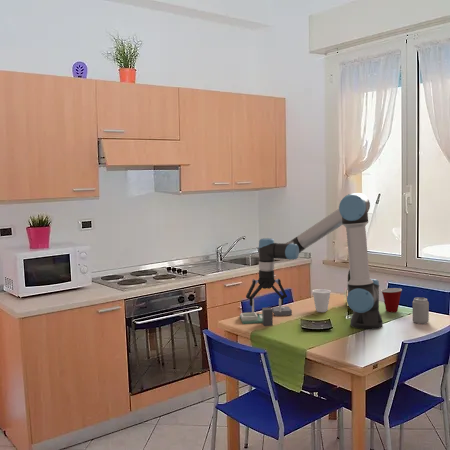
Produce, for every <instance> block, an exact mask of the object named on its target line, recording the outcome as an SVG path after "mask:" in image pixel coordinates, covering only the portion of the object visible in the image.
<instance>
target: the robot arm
mask: <svg viewBox="0 0 450 450" xmlns="http://www.w3.org/2000/svg"><path fill="white" fill-rule="evenodd" d="M370 208H371V203H370V200H369V198H368V197H367V196H366V195H365V194H363V193H361V192H354V193H348V194H347V195H345V196H344V197H342V199H341V200H340V202H339V205H338V208H337V209H336V210H334V211H333V212H331V213H330V214H328V215H327V216H325V217H324V218H323V219H321V220H319V221H318V222H316V223H314V225H312V226H310V227H309V228H308V229H306V230H305V231H303V232H301V233H300V234H298V235H297V236H296V237H294V238H293V239H291V240H290V241H288V242H285V243H284V242H283V243H279V242H278V243H277V242H275V239H274V238H272V237H271V238H269V237H267V238H265V237H264V238H259V241H258V269H259V270H258V279H254V278H253V279H252V282H251V285H250V287H249V290H248V291H247V293H246V295H245V297H246V299H248V300H249V306H250V307H251V313H254V312H255V299H254V298H255V297H256V296H257V294H258V293H259V292H260V290H262V289H264V290H266V289H269V290H270V289H271V288H272V289H273V291H274V292H275V293H276V294H277V295H278V297H279V298H278V307H279V312H281V307H282V306H284V299H285V298H287V297H288V295H287V293H286V291H285V289H284V288H283V286H282V282H281V279H280V278H278V279H277V278H276V279H275V259H280V260H281V259H282V260H289V261H290V260H297V259H298V258H299V255H300V253H302V252H303V251H304V250H306V249H307V248H309V247H312V246H313V244H316V243H317V242H318V241H320V240H321V239H323V238H325V237H326V236H328V235H329V234H331V233H332V232H334V231H335V230H336V229H338V228H340V227H342V226H344V227H345V229H346V231H345V232H346V239H347V240H346V241H347V242H346V243H347V252H348V253H347V254H348V265H349V269H350V280H349V282H348V296H346V303H347V305H348V307H349V308H350V309H351V310H352V311H353V312H352V314H351V318H350V326H351V327H352V328H355V329H359V330H378V329H381V328H383V327H384V326H383V325H384V323H383V322H384V321H383V319H382V315H381V311H380V281H379V280H378V279H375V278H371V277H370V266H369V254H368V253H369V252H368V243H367V230H366V225H368V223H369V215H368V213H369V211H370ZM257 283H258V284H259V285H258V286H257V288H255V286H256V285H257ZM275 284H277V286H278V287H279V290H280V291H281V292H280V291H279V290H278V289H277V287H275V286H274V285H275ZM254 288H255V290H254ZM281 293H282V294H281Z"/></svg>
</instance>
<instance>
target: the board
mask: <svg viewBox="0 0 450 450" xmlns="http://www.w3.org/2000/svg"><path fill="white" fill-rule="evenodd" d="M239 318H240V321H241V323H242V325H248V324H249V325H250V324H262V313H259V312H258V313H257V312H255V311H254V313H252V312H241V313H240V314H239Z"/></svg>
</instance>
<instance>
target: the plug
mask: <svg viewBox="0 0 450 450" xmlns="http://www.w3.org/2000/svg"><path fill="white" fill-rule="evenodd" d="M261 314H262V323H261V324H262V325H263V327H269V326H270V327H271V326H274V325H273V321H274V320H273V319H274V318H273V312H272V307H261Z"/></svg>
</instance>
